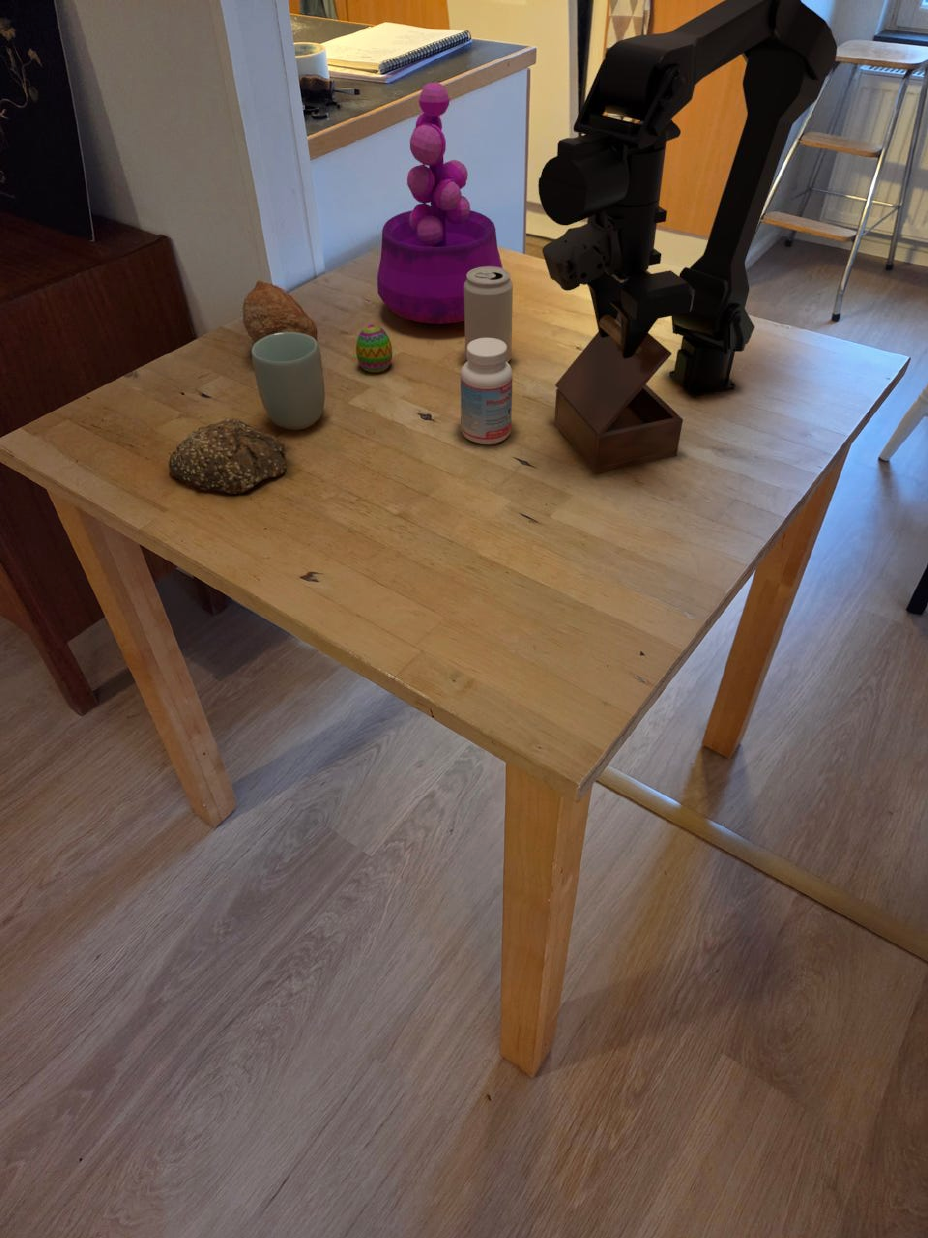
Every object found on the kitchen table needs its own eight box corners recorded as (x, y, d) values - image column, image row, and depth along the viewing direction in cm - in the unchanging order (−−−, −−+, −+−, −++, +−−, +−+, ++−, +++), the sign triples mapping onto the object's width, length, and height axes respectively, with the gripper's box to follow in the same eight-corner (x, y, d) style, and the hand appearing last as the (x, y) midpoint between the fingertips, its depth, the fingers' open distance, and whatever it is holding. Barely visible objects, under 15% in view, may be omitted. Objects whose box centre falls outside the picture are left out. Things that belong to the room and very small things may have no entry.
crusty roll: (310, 331, 124) (300, 262, 117) (326, 370, 116) (316, 298, 109) (245, 340, 122) (231, 271, 115) (256, 381, 114) (241, 309, 107)
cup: (340, 412, 108) (330, 338, 101) (307, 443, 102) (294, 367, 96) (288, 400, 110) (275, 326, 103) (253, 429, 105) (237, 354, 98)
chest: (630, 407, 107) (634, 372, 104) (676, 455, 100) (683, 419, 96) (553, 423, 105) (556, 388, 102) (595, 473, 97) (599, 437, 94)
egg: (364, 378, 114) (360, 336, 110) (353, 362, 117) (348, 321, 113) (398, 371, 115) (395, 328, 111) (386, 355, 118) (382, 314, 114)
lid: (621, 309, 97) (599, 290, 95) (672, 353, 90) (650, 334, 87) (557, 387, 102) (535, 371, 99) (601, 436, 94) (578, 420, 91)
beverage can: (507, 373, 114) (509, 285, 106) (460, 369, 115) (459, 282, 107) (514, 351, 119) (517, 265, 110) (469, 348, 120) (468, 262, 111)
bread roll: (156, 473, 98) (144, 436, 95) (233, 426, 106) (225, 390, 102) (235, 510, 93) (225, 472, 90) (310, 457, 100) (304, 420, 97)
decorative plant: (504, 340, 121) (508, 100, 100) (375, 341, 122) (352, 102, 101) (501, 285, 135) (505, 64, 114) (385, 286, 135) (367, 66, 114)
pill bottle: (495, 451, 101) (496, 364, 93) (452, 437, 103) (449, 350, 95) (520, 428, 104) (523, 342, 96) (478, 414, 107) (477, 329, 99)
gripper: (517, 180, 87) (515, 325, 98) (598, 243, 75) (586, 401, 85) (614, 164, 90) (602, 307, 101) (709, 223, 77) (683, 379, 88)
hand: (615, 346), depth 94 cm, fingers closed on lid, 5 cm apart
